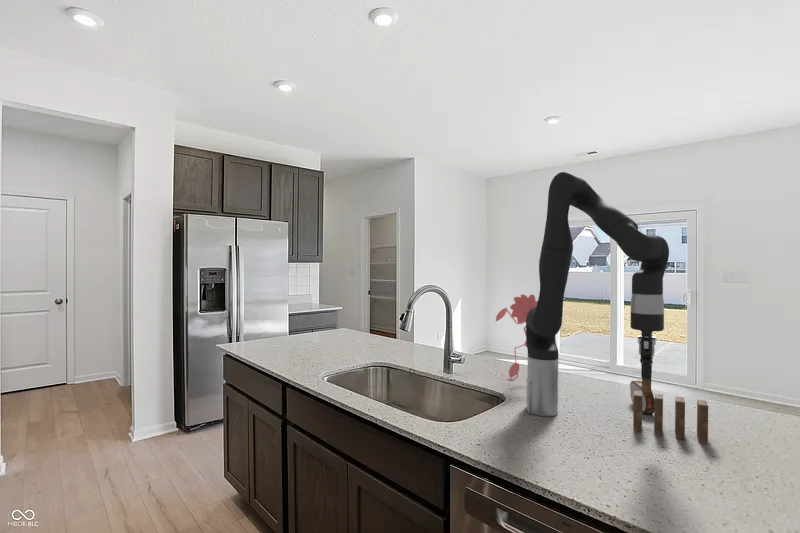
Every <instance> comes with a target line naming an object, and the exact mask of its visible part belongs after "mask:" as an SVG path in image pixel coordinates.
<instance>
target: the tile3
mask: <svg viewBox="0 0 800 533" xmlns="http://www.w3.org/2000/svg"><path fill="white" fill-rule="evenodd" d="M674 399H675V400H674V402H675V403H674V404H675V405H674V413H675V414H674V418H675V419H674V433H675V434H674V435H675V439H677V440H678V439H679V440H683V441H686V436H685V435H686V432H685V431H686V400H685V397H683V396H675V397H674Z"/></svg>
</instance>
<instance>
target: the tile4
mask: <svg viewBox="0 0 800 533" xmlns="http://www.w3.org/2000/svg"><path fill="white" fill-rule="evenodd" d="M696 401H697V402H696V405H697V408H696V410H697V411H696V438H697V442H698V443H699V444H705V445H708V444H709V404H708V401H707V400H703V399H697V400H696Z"/></svg>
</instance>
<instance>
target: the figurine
mask: <svg viewBox="0 0 800 533" xmlns="http://www.w3.org/2000/svg"><path fill="white" fill-rule="evenodd" d="M513 302H514V303H512V304H511V305H510V306H509V308H510V310H512V312H511V313H510V311H509V310H508V307H504V308H502V309H501V310H499V312H498V313H497V314H496V316H495V322H498V321H500V320H501V319H503V317H505V316H506V313H508V315H509V316H510V318H512V320H513V321H514V323H516V325H522V324H524V323H525V324H526V318H527V314H528V312H529V311H530V310H531V309H532V308H534V307H536V306H537V302H538V300H536V296H535V295H534V294H530V295H529V296H527V295H526V294H524V293H523V294H520V296H514V297H513ZM515 318H516V319H515ZM523 332H524V334H525V336H526V325H525V326H524V327H523ZM523 346H525V347H526V348H527V345H526V340H525V341H524V344H522V345H519V346H516V347H514V349H513V350H514V360H515V361H514V363H513V364H512V365H511V366H510V367H509V370H508V377H509V379H512V378H514V377H515V376H516V377H519V371H520V364H519V363H518V362H517V353H516V351H517V350H516V349H518V348H521V347H523Z"/></svg>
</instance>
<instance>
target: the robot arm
mask: <svg viewBox="0 0 800 533" xmlns="http://www.w3.org/2000/svg"><path fill="white" fill-rule="evenodd" d="M548 188H549V189H548V194H547V195H548V196H547V208H546V209H547V210H546V221H545V227H544V234H543V240H542V243H541V249H540V253H539V254H540V256H539V262H538V274H539V275H538V276H539V294H538V295H539V296H538V298H537V301H538V302H537V306H536V307H534V308H532V309H531V310H530V311H529V312H528V314H527V318H526V322H525V326H526V328H525V330H526V335H525V337H526V338H525V341H526V345H527V347H526V349H527V377H526V386H527V387H526V391H525V392H526V396H525V397H526V398H525V399H526V401H525V402H526V411H527V413H528V414H532V415H535V416H541V417H553V416H554V417H555V416H558V414H559V348H558V345H557V342H556V335H557V334H559V332H560V331H561V328H562V325H563V308H564V298H565V293H566V292H565V291H566V287H567V282H568V278H569V273H570V268H571V263H572V256H573V250H574V241H573V237H572V233H571V228H570V225H569V223H570V222H569V212H570V206H572V207H574V208H575V209H578V210H579V211H582V213H585V214H586V215H587V216H589V217H590V218H591V219H592V221H593V223H594V224H595V225H596V227H597V228H598V229H599V230H601V232H603V233H604V234H606V236H608V237H609V238H611V239H612V240H613V241H614V242H616V244H617V245H618V247H619V248H620V249H621V251H622V252H623V253H624V254H625V256H627V257H628V258H630V259H632V261H635V262H639V263H640V269H639V270H638V271H635V272H634V273H633V274H632V277H631V299H630V328H631V329H632V330H636V331H640V332H641V335H638V336H637V343H638V354H639V355H640V359H639V362H640V364H641V365H640V366H641V372H640V373H641V375H640V376H641V380H642V379H648V380H650V379H651V380H652V374H653V370H652V368H653V359H654V357H655V348H656V347H655V345H656V341H657V340H656V339H657V338H656V336H654V335H653V332H662V331H664V329H665V300H664V276H665V273H666V270H667V269H666V268H667V266H668V261H669V258H670V248H669V244H668V242H667V241H666V239H665V238H664V237H662V236H660V235H655V234H645V233H643V232H642V231H640V230H639V226H638V224H637V222H636V221H634V220H633V219H632V218H631V217H629V216H628V215H626V214H625V213H624V212H622V211H621V210H619V209H617V207H615V206H613V205H612V204H610V203H609V202H608V201H606V200H605V199H604V198H602V197H601V196H600V195H599V194H598V193H597V192H596V190H594V188H593V187H592V186H591V185H590V184H589V183H588V182H587V181H586V180H585V179H584V178H582V177H581V176H578V175H577V174H576V175H575V174H573V173H570V172H567V171H561V172H558V173H557V174H556V175H554V177H553V178H552V179H551V182H550V184H549V187H548ZM643 355H649V356H650V359H647V358H643Z"/></svg>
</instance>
